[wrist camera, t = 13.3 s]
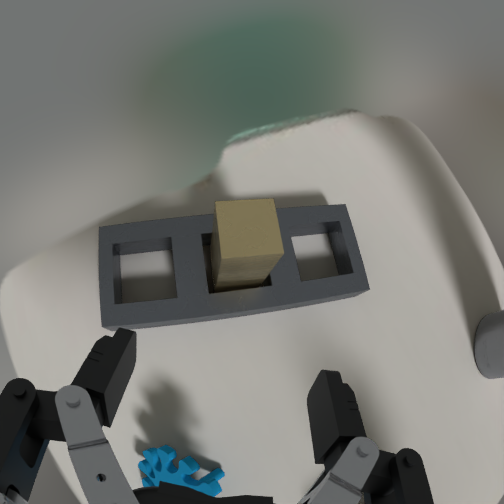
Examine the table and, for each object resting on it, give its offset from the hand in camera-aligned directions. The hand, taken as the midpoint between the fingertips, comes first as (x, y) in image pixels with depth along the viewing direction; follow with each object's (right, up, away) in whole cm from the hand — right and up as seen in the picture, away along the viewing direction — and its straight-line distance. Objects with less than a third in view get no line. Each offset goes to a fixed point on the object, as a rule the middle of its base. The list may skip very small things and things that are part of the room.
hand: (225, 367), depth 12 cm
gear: (-5, -16, +9) cm, 19 cm away
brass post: (-1, +3, +17) cm, 17 cm away
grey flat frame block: (-1, +3, +17) cm, 17 cm away
